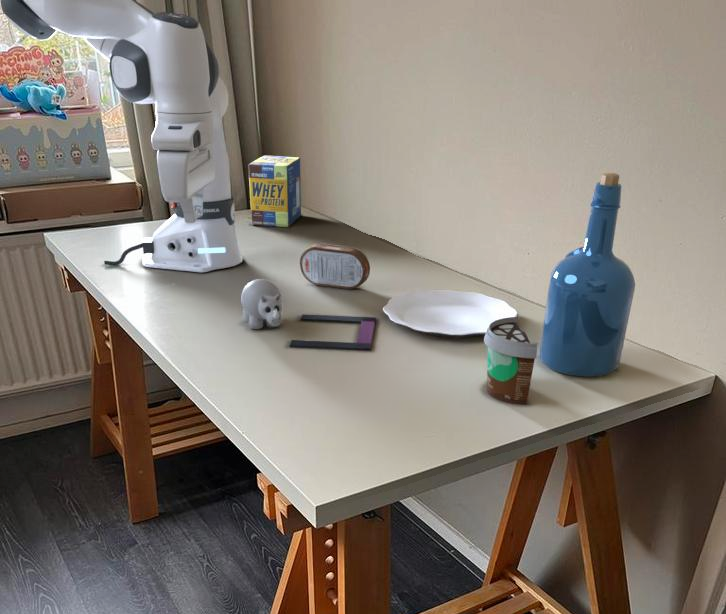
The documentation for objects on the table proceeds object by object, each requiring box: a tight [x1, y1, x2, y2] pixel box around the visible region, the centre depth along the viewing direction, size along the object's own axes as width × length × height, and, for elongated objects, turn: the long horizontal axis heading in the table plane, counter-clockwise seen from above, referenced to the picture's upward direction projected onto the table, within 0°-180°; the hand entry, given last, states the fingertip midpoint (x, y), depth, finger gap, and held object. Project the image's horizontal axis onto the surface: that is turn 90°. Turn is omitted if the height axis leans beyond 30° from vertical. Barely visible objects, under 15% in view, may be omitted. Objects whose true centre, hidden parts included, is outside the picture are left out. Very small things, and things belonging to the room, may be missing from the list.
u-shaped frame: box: [289, 313, 377, 352], centre depth 141 cm, size 14×16×1 cm
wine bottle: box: [539, 172, 636, 378], centre depth 122 cm, size 14×13×30 cm
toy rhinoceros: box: [240, 278, 284, 330], centre depth 139 cm, size 7×12×8 cm, turn 24°
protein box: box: [248, 154, 302, 228], centre depth 211 cm, size 10×15×16 cm
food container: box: [483, 316, 538, 405], centre depth 117 cm, size 12×6×10 cm, turn 5°
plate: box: [382, 289, 519, 338], centre depth 147 cm, size 25×25×2 cm
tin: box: [299, 242, 371, 290], centre depth 162 cm, size 15×3×8 cm, turn 71°
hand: (194, 219), depth 132 cm, fingers open, 3 cm apart
